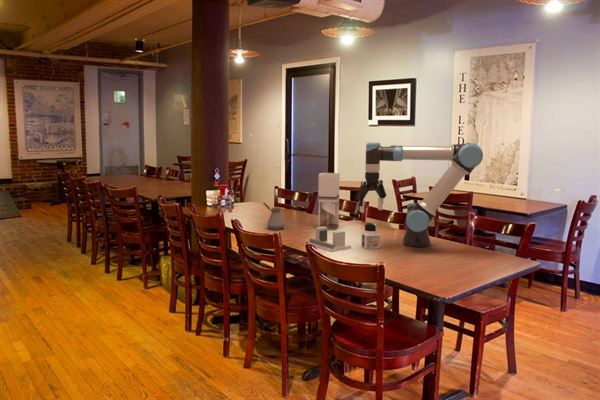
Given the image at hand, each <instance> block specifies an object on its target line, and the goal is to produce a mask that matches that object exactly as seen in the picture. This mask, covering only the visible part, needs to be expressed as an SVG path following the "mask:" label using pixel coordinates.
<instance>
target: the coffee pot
mask: <svg viewBox="0 0 600 400" xmlns="http://www.w3.org/2000/svg"><path fill="white" fill-rule="evenodd" d="M263 204H264V205H263ZM262 205H263V206H265V207H266V208H267V210H268V211H270V212H271V213H270V216H269V219H268V221H267V223H266V226H267V227H268V228H269V230H271V231H279V230H280V231H281V230H283V228H284V227H285V225H286V224H285V221H284V219H283V216H282V214H281V210H282V209H281V208H279V207H278V208H277V207H275V208H271V207H270V206H269V205H267V203H266V202H263V203H262Z"/></svg>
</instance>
